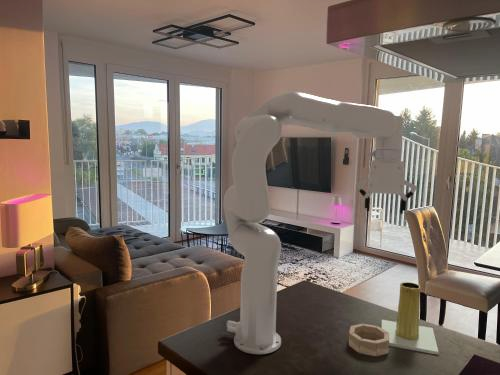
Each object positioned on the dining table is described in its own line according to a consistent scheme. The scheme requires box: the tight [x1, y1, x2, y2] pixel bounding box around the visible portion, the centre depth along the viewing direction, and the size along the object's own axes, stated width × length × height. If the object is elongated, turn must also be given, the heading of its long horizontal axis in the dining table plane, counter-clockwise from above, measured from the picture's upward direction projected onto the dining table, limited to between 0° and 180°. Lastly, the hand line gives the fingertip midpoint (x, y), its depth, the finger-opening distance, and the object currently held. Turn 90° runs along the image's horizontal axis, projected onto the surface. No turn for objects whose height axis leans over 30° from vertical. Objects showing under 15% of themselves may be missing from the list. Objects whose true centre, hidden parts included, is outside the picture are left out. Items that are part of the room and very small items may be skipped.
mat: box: [380, 319, 440, 356], centre depth 105 cm, size 14×14×1 cm
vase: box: [396, 281, 421, 339], centre depth 104 cm, size 6×6×14 cm
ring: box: [348, 323, 390, 357], centre depth 100 cm, size 10×10×4 cm
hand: (384, 211), depth 115 cm, fingers open, 9 cm apart
